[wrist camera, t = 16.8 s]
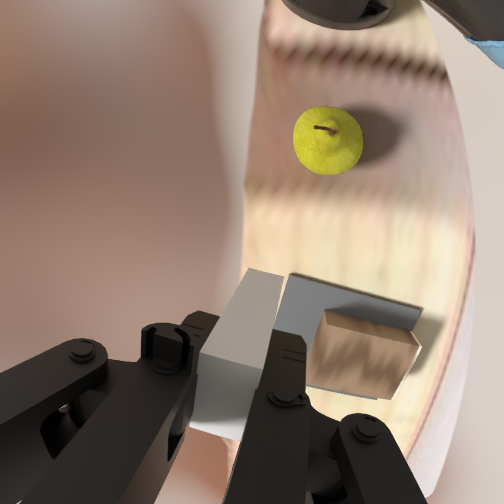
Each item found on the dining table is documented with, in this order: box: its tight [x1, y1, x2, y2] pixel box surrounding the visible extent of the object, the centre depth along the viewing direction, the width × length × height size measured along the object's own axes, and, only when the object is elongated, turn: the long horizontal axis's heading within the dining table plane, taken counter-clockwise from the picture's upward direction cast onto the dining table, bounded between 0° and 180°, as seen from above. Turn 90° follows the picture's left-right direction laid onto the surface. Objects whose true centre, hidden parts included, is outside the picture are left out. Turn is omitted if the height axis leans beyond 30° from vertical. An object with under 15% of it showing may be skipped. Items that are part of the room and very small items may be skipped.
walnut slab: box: [306, 310, 422, 400], centre depth 35 cm, size 8×4×12 cm
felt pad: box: [273, 274, 420, 400], centre depth 37 cm, size 14×17×1 cm
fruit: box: [293, 106, 363, 175], centre depth 27 cm, size 7×7×12 cm
